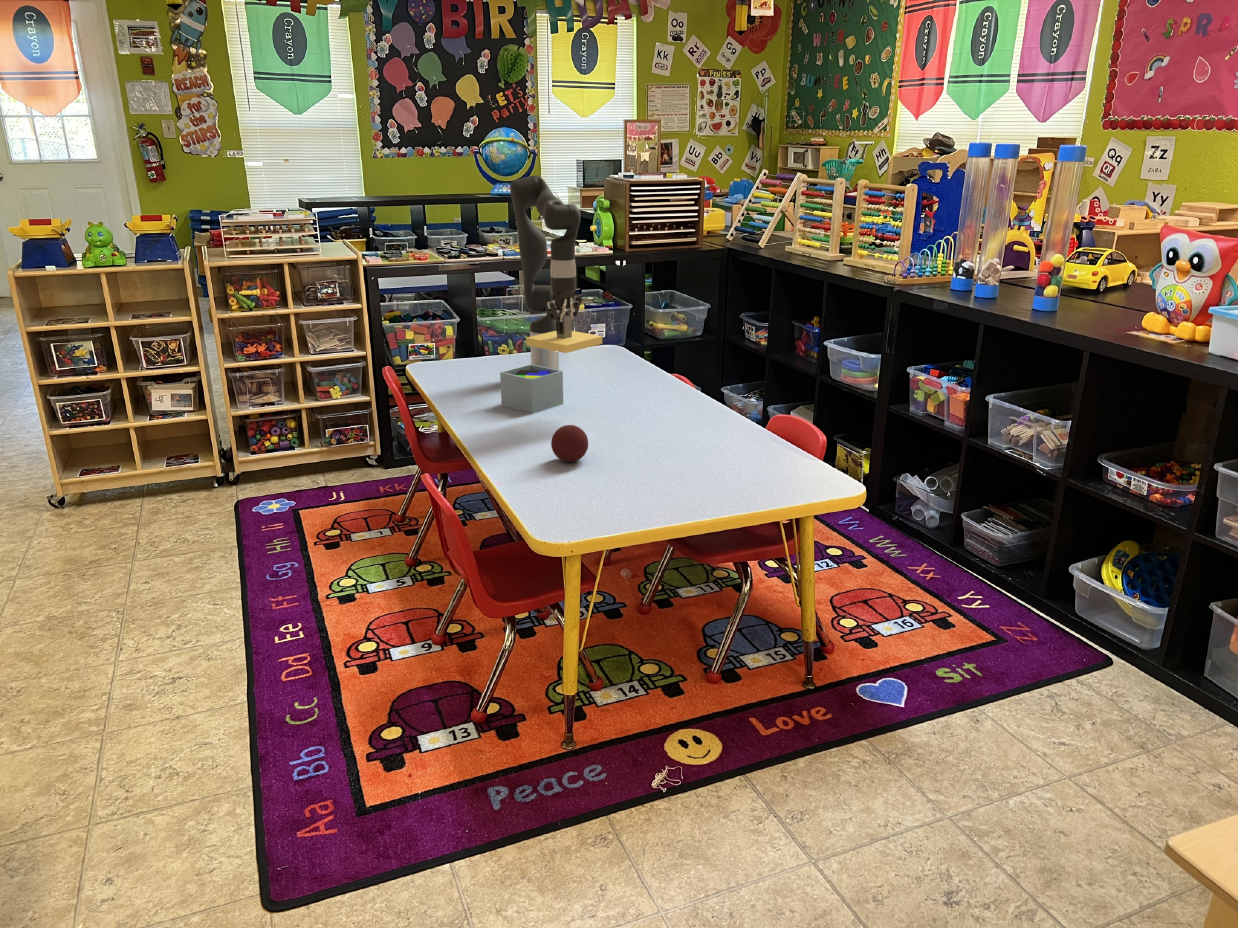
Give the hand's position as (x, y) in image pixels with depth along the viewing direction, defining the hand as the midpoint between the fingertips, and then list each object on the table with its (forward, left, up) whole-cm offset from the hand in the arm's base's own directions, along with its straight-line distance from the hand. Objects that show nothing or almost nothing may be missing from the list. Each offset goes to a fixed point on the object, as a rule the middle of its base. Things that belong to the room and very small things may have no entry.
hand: (564, 332), depth 270 cm
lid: (0, 0, -4) cm, 4 cm away
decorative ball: (+28, +27, -27) cm, 47 cm away
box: (-4, -18, -27) cm, 33 cm away
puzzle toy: (-4, -18, -27) cm, 33 cm away
